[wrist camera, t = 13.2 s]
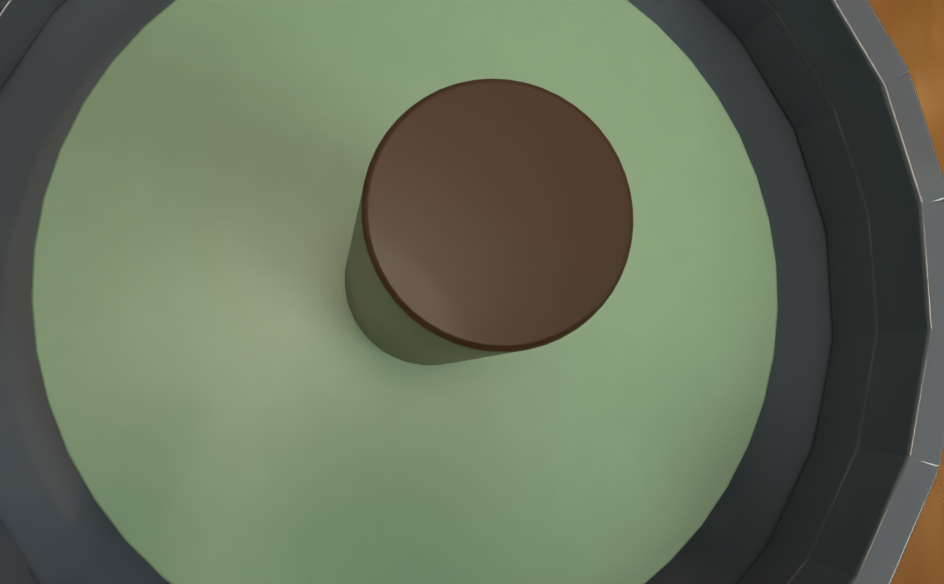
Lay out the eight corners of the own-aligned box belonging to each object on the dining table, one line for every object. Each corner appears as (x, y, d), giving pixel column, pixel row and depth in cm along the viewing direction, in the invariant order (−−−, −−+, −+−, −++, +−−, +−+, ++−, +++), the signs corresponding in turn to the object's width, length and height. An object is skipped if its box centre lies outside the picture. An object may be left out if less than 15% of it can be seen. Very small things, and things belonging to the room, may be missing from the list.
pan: (849, 716, 18) (999, 810, 14) (-80, 801, 15) (-223, 949, 11) (799, -97, 19) (920, -220, 15) (-46, -158, 17) (-158, -326, 13)
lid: (640, 737, 16) (893, 1015, 9) (-72, 522, 14) (-445, 652, 7) (822, 97, 18) (1150, -90, 11) (209, -153, 16) (125, -560, 9)
